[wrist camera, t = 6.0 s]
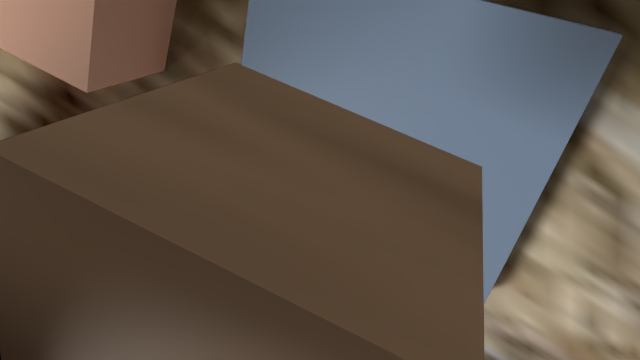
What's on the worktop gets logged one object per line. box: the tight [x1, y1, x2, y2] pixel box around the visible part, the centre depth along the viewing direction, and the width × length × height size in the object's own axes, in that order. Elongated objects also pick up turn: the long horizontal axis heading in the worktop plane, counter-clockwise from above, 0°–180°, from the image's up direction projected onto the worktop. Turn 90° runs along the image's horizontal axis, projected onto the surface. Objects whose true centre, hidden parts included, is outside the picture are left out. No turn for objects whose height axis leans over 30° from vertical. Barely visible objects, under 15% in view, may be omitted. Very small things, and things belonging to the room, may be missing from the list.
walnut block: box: [0, 63, 484, 360], centre depth 8 cm, size 8×5×5 cm, turn 162°
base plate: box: [241, 0, 623, 303], centre depth 18 cm, size 12×13×1 cm
